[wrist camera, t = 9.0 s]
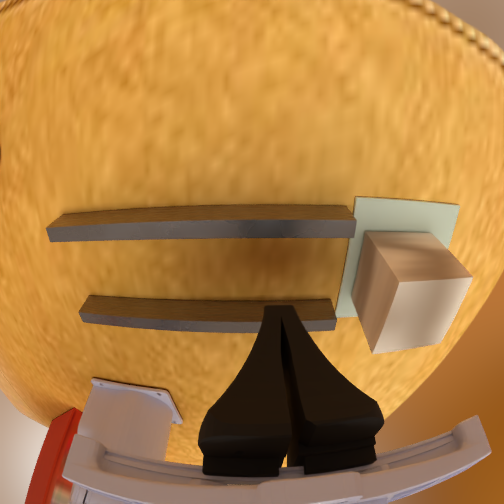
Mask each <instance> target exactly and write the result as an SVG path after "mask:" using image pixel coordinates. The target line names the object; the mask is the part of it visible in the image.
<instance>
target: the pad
mask: <svg viewBox="0 0 504 504" xmlns="http://www.w3.org/2000/svg"><path fill="white" fill-rule="evenodd" d="M459 208H460V205H458V204H449V203H439V202H429V201H417V200H405V199H392V198H376V197H358V196H355V203H354V211H353V216H354V217H355V219H356V220H357V224H356V230H355V236H354V238H349V243H348V249H347V255H346V261H345V266H344V271H343V276H342V281H341V286H340V291H339V296H338V300H337V305H336V309H335V314H336V318H340V317H356V316H358V315H357V312H356V309H355V307H354V304H353V302H352V299H351V296H352V292H353V287H354V283H355V279H356V274H357V270H358V265H359V261H360V256H361V251H362V246H363V241H364V235H365V231H369V232H415V233H432V234H433V235H434V236H435V237H436V238H437V239H438V240H439V241H440V242H441V243H442V244H443V245H444V246H445V247H446V248H447V249H448V247H449V244H450V241H451V238H452V234H453V231H454V227H455V224H456V220H457V216H458V212H459Z"/></svg>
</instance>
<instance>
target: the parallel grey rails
mask: <svg viewBox="0 0 504 504" xmlns="http://www.w3.org/2000/svg"><path fill="white" fill-rule="evenodd" d="M356 224H357V220H356V219H355V217H354V216H353V214H352V213H351V212H350V210H349V209H348V208H347V207H346V206H332V205H210V206H180V207H158V208H140V209H124V210H110V211H97V212H85V213H74V214H63V215H61V216H60V217H59V218H57V219H56V220H55V221H54V222H52V223H51V224H50V225H49V226H48V227H46V230H47V233H48V236H49V240H50V242H70V241H104V240H146V239H206V238H354V236H355V230H356ZM266 305H293V306H294V307H295V310H296V312H297V314H298V316H299V318H300V320H301V322H302V324H303V325H304V327H305V329H306V330H307V332H312V331H331V330H335V326H336V322H337V318H336V314H335V311H334V308H333V305H332V301H331V299H329V300H296V301H195V300H163V299H140V298H122V297H106V296H92V295H89V296H88V298H87V300H86V301H85V303H84V304H83V306H82V307H81V309H80V310H79V314H80V317H81V319H82V321H83V322H86V323H94V324H102V325H111V326H121V327H131V328H143V329H156V330H171V331H189V332H218V333H259V330H260V327H261V323H262V319H263V314H264V307H265V306H266Z"/></svg>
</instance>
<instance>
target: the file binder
mask: <svg viewBox="0 0 504 504" xmlns="http://www.w3.org/2000/svg"><path fill="white" fill-rule="evenodd" d="M81 416H82V412H81V411H79V410H78V409H76V408H73V409H72V410H70V411H68V412H66V413H65V414H63V415H61V416H59V417H57V418H56V419H54V420H52V422H51V425H50V427H49V430H48V433H47V435H46V438H45V440H44V443H43V446H42V449H41V451H40V455H39V457H38V460H37V463H36V466H35V469H34V473H33V476H32V479H31V483H30V486H29V489H28V493H27V497H26V501H25V504H70V500H71V499H70V496H71V490H72V485H73V483H72V482H70V481H69V480H67V479H65V478H63V477H62V474H63V470H64V467H65V463H66V460H67V456H68V453H69V450H70V447H71V444H72V441H73V438H74V435H75V434H77V431H78V425H79V422H80V419H81Z"/></svg>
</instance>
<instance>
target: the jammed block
mask: <svg viewBox="0 0 504 504" xmlns="http://www.w3.org/2000/svg"><path fill="white" fill-rule="evenodd" d="M472 279H473V276H472V275H471V274H470V273H469V272H468V271H467V270H466V268H465V267H464V266H463V265H462V264H461V263H460V262H459V261H458V260H457V259H456V258H455V256H454V255H453V254H452V253H451V252H450V251H449V250H448V249H447V248H446V247H445V246H444V245H443V244H442V243H441V242H440V241H439V240H438V239H437V238H436V237H435V236H434V235H433V234H432V233H415V232H369V231H365V235H364V241H363V246H362V251H361V256H360V261H359V265H358V270H357V274H356V279H355V283H354V287H353V292H352V296H351V299H352V302H353V304H354V307H355V309H356V312H357V315H358V317H359V320H360V322H361V325H362V328H363V331H364V333H365V336H366V339H367V341H368V344H369V347H370V350H371V353H372V354H378V353H386V352H393V351H399V350H406V349H412V348H417V347H423V346H428V345H434V344H439V343H441V341H442V340H443V338H444V336H445V334H446V333H447V331H448V329H449V327H450V325H451V323H452V321H453V319H454V317H455V316H456V314H457V312H458V310H459V308H460V305H461V303H462V301H463V299H464V297H465V295H466V293H467V290H468V288H469V286H470V284H471V281H472Z"/></svg>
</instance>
